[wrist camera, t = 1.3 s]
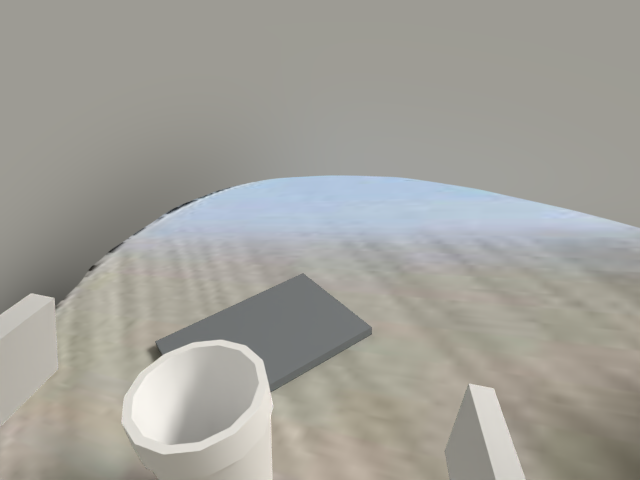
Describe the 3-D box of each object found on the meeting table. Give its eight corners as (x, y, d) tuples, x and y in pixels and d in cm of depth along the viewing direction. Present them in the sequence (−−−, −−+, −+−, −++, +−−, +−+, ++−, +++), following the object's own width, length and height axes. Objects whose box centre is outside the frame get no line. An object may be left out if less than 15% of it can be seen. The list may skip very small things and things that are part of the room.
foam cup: (146, 540, 36) (88, 426, 29) (215, 439, 43) (181, 329, 36) (256, 591, 32) (217, 474, 26) (310, 471, 39) (291, 356, 33)
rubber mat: (303, 279, 63) (303, 273, 63) (371, 333, 53) (371, 327, 52) (157, 348, 54) (155, 341, 54) (205, 429, 44) (202, 422, 43)
